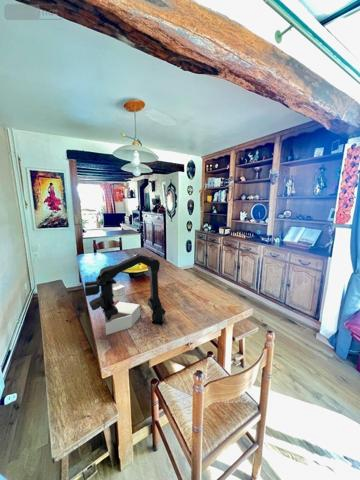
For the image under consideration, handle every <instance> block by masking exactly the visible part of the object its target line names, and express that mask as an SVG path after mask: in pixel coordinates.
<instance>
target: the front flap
mask: <svg viewBox="0 0 360 480" xmlns="http://www.w3.org/2000/svg"><path fill="white" fill-rule="evenodd" d="M104 321H105V325H104V326H105V336H107V335H108V336H109V335H111V334H114V333H119V332H121V331H124V330H127V329H130V328H132V327H133V326H132V315H128V316H125V317H121V318H117V319H114V320H111V319H110V320H107V317H105V316H104Z"/></svg>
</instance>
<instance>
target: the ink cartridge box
mask: <svg viewBox="0 0 360 480" xmlns="http://www.w3.org/2000/svg"><path fill="white" fill-rule="evenodd" d="M112 285H113V294H114V296H113V301H114V304H113V305H114V306H115V305H116V304H117V303H118V302H125V303H126V286H125V285H123V284H122V281H121V280H119V281H116V284H112Z"/></svg>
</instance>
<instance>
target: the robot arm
mask: <svg viewBox="0 0 360 480" xmlns="http://www.w3.org/2000/svg"><path fill="white" fill-rule="evenodd" d="M139 264H143V265H144V266H146V267H147V270H148V273H149V286H150V287H149V288H150V297H149V298H147V306H148V307H149V308H150V310H151V311H152V314H151V324H155V325H160V326H162V325H163V323H164V322H165V321H166V318H165V315H166V310H165V308H164V307H163V306H162V301H161V299H160V296H159V280H158V279H159V278H158V274H159V272H160V267H161V262H160V260H158V259H156V258H155V257H154V256H149V257H148V256H146V255H143V254H140V253H138V254H136V255H134V256H132V257H130V258H127V259H125V260H124V261H121V262H119V263H117V264H114V265H108V266H104V267H102V268H101V269H100V270H99V272H98V273H99V274H98V275H97V277H96V278H95V280H94V281H85V282H84V296H85V297H90V296H95V295H98V294H99V293H100V294H99V296H98V297H96V298H93V299H92V300H90V301H89V303H88V304H89V306H90V308H91V310H92V311H96V310H98V309H100V308H101V309H102V313H103V315H104V318H105V317H107V320H110V319H111V316H112V315H116V314H118V309H117V307H116V306H115V305H113V304H114V301H113V296H114V294H113V285H112V284H115V285H117V284H116V282H117V281H116V279H115V278H116V276H118V275H119V274H120V273H122V272H124V271H126V270H128V269H130V268H132V267H134V266H137V265H139Z"/></svg>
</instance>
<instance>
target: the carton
mask: <svg viewBox="0 0 360 480" xmlns="http://www.w3.org/2000/svg"><path fill="white" fill-rule="evenodd" d="M114 306H116V307H117V309H118V314H116V315H112V316H111V320H114V319H117V318H121V317H125V316H128V315H132V327H133V326H134V324H135V323H136V322H137V321H138V319H140V317H141V307H140V306H141V305H140V304H139V303H138V304H137V303H131V302H126V301H125V302H118V303H117V304H116V305H114Z"/></svg>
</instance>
